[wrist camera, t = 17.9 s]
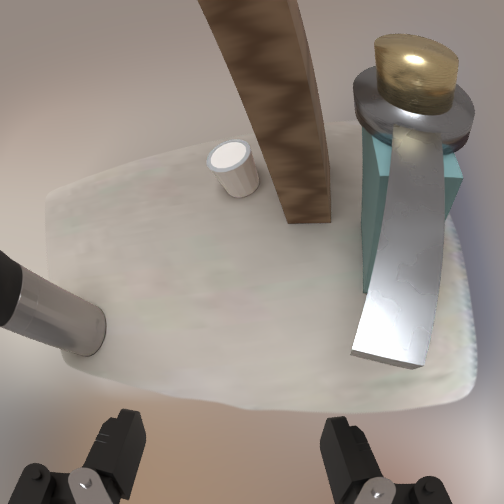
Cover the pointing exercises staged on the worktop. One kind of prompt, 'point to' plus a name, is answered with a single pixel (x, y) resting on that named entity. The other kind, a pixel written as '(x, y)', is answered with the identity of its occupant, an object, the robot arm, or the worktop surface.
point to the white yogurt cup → (234, 167)
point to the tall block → (376, 191)
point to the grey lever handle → (409, 190)
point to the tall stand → (278, 97)
